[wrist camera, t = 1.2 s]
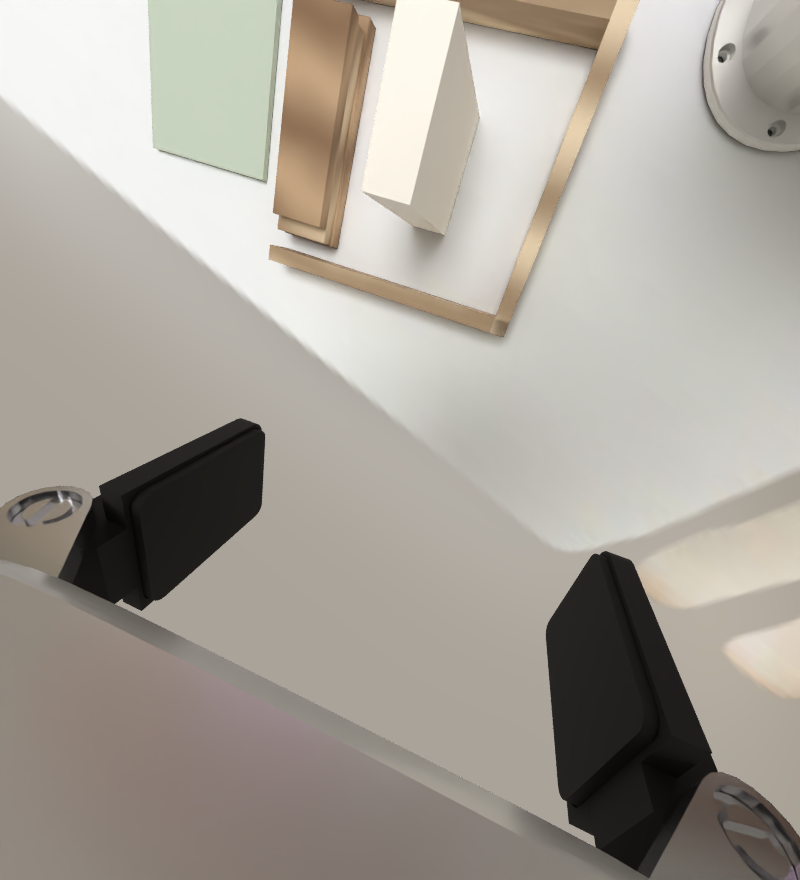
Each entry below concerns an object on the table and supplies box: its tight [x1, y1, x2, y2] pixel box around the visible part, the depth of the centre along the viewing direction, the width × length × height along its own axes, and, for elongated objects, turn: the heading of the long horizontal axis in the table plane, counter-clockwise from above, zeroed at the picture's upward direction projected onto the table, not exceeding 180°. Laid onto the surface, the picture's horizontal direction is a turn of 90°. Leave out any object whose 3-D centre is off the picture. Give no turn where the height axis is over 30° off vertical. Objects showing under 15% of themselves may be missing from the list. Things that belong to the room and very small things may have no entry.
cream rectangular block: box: [361, 0, 480, 235], centre depth 23 cm, size 8×3×12 cm, turn 164°
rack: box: [269, 0, 640, 337], centre depth 28 cm, size 20×22×3 cm
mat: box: [148, 0, 282, 182], centre depth 30 cm, size 12×12×1 cm
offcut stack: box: [273, 0, 376, 248], centre depth 28 cm, size 15×5×4 cm, turn 164°
